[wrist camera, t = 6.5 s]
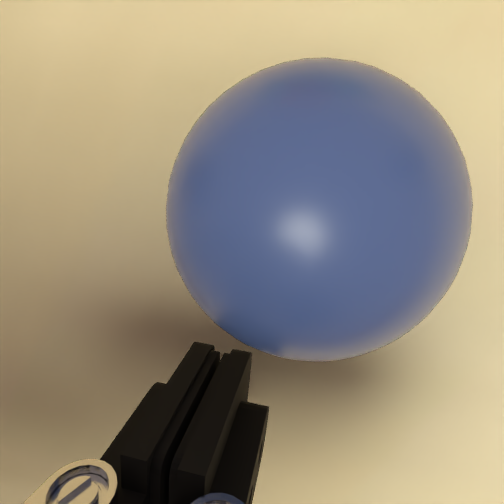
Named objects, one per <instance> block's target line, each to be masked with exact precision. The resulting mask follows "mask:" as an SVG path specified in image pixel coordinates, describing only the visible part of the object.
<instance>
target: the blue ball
mask: <svg viewBox="0 0 504 504" xmlns="http://www.w3.org/2000/svg"><path fill="white" fill-rule="evenodd" d="M472 207H473V202H472V190H471V184H470V178H469V174H468V170H467V166H466V162H465V158H464V156H463V154H462V151H461V149H460V147H459V145H458V142H457V140H456V138H455V136H454V134H453V132H452V130H451V129H450V127H449V126H448V125H447V123H446V122H445V120H444V119H443V117H442V116H441V115H440V113H439V112H438V111H437V110H436V109H435V108H434V107H433V106H432V105H431V104H430V103H429V102H428V101H427V100H426V99H425V98H424V97H423V96H422V95H421V94H420V93H419V92H418V91H416V90H415V89H414V88H412V87H411V86H409V85H408V84H407V83H405V82H404V81H402V80H400V79H399V78H397V77H395V76H393V75H391V74H389V73H387V72H385V71H382V70H380V69H378V68H376V67H373V66H370V65H366V64H363V63H359V62H356V61H349V60H340V59H332V58H306V59H300V60H294V61H289V62H283V63H280V64H277V65H274V66H271V67H269V68H266V69H263V70H261V71H259V72H257V73H255V74H253V75H251V76H249V77H247V78H245V79H243V80H241V81H240V82H238V83H237V84H235V85H234V86H232V87H231V88H229V89H228V90H227V91H225V92H224V93H223V94H222V95H221V96H220V97H218V98H217V99H216V100H215V101H214V102H213V103H212V104H211V105H210V106H209V107H208V108H207V109H206V110H205V111H204V113H203V114H202V115H201V116H200V117H199V119H198V120H197V121H196V122H195V124H194V125H193V127H192V129H191V130H190V132H189V133H188V135H187V137H186V138H185V140H184V142H183V144H182V147H181V149H180V151H179V153H178V156H177V158H176V160H175V163H174V166H173V170H172V173H171V177H170V180H169V186H168V194H167V204H166V222H167V232H168V238H169V243H170V248H171V252H172V255H173V258H174V261H175V264H176V267H177V270H178V272H179V274H180V276H181V278H182V280H183V282H184V283H185V285H186V287H187V289H188V291H189V293H190V294H191V296H192V297H193V298H194V300H195V301H196V302H197V304H198V305H199V306H200V307H201V309H202V310H203V311H204V312H205V313H206V314H207V315H208V316H209V317H210V318H211V319H212V320H213V321H214V322H215V323H216V324H217V325H218V326H220V327H221V328H222V329H223V330H225V331H226V332H227V333H229V334H230V335H232V336H233V337H234V338H236V339H238V340H239V341H241V342H243V343H244V344H246V345H248V346H251V347H253V348H255V349H258V350H260V351H263V352H265V353H268V354H271V355H274V356H277V357H281V358H286V359H292V360H302V361H335V360H342V359H347V358H352V357H356V356H359V355H363V354H366V353H369V352H371V351H374V350H377V349H379V348H381V347H383V346H385V345H388V344H389V343H391V342H393V341H395V340H396V339H398V338H400V337H401V336H403V335H404V334H406V333H407V332H409V331H410V330H411V329H413V328H414V327H415V326H416V325H418V324H419V323H420V322H421V321H422V320H423V319H424V318H425V317H426V316H427V315H428V314H429V313H430V312H431V311H432V310H433V308H434V307H435V306H436V305H437V304H438V302H439V301H440V300H441V299H442V298H443V296H444V295H445V293H446V292H447V290H448V289H449V287H450V286H451V284H452V282H453V280H454V279H455V277H456V275H457V273H458V270H459V268H460V265H461V263H462V260H463V257H464V255H465V252H466V249H467V246H468V241H469V237H470V231H471V220H472Z"/></svg>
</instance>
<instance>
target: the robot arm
mask: <svg viewBox="0 0 504 504" xmlns="http://www.w3.org/2000/svg"><path fill="white" fill-rule="evenodd" d="M251 360H252V353H250V352H244V351H239V350H234V349H233V350H232V351H231V353H230V354H228V353H224V355H223V357H222V359H221V361H220V352H218V351H214V346H213V345H209V344H204V343H199V342H194V343H193V345H192V346H191V348H190V349H189V351H188V352H187V354H186V355H185V357H184V358H183V360H182V361H181V363H180V364H179V366H178V367H177V369H176V370H175V372H174V374H173V375H172V377H171V378H170V380H169V381H168V383H167V384H164V383H159V382H157V383H155V384H154V385H153V386H152V387H151V389H150V390H149V391H148V393H147V394H146V396H145V397H144V398H143V400H142V401H141V403H140V404H139V406H138V407H137V408H136V410H135V411H134V413H133V414H132V415H131V417H130V418H129V420H128V421H127V422H126V424H125V425H124V427H123V428H122V429H121V431H120V432H119V434H118V435H117V436H116V438H115V439H114V441H113V442H112V443H111V445H110V446H109V448H108V449H107V450H106V452H105V453H104V455H103V456H102V458H101V459H100V460H98V459H82V460H78V461H75V462H72V463H70V464H68V465H66V466H64V467H62V468H60V469H59V470H58V471H56V472H55V473H54V474H53V475H51V476H50V477H49V478H48V479H47V480H46V481H45V482H44V483H43V484H42V485H41V486H40V487H39V488H38V489H37V490H36V491H35V492H34V493H33V494H32V495H31V496H30V497H29V498H28V499H27V500H26V501H25V502H24V503H23V504H252V500H253V495H254V491H255V486H256V481H257V476H258V472H259V467H260V462H261V457H262V452H263V446H264V441H265V434H266V427H267V420H268V412H269V407H267V406H263V405H258V404H254V403H249V402H247V398H248V388H249V379H250V369H251Z"/></svg>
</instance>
